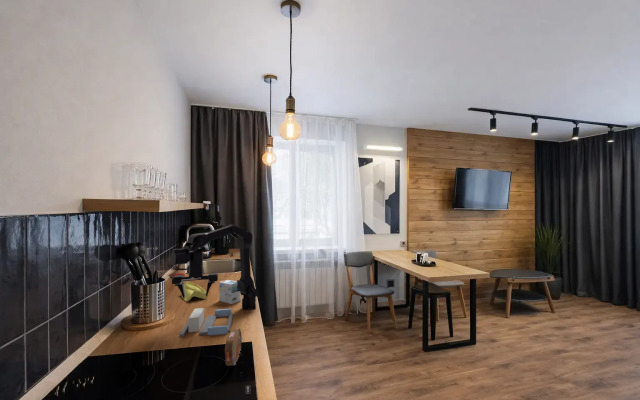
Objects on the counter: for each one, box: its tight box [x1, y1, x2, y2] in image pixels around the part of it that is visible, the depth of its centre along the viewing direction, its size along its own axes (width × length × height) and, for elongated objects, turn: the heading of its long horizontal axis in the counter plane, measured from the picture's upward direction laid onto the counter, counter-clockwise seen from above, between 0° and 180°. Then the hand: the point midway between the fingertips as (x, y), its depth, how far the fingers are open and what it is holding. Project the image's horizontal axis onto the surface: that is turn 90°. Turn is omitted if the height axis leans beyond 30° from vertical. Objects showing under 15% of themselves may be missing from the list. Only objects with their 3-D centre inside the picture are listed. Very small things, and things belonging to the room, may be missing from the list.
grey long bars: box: [179, 313, 234, 338], centre depth 129 cm, size 19×20×1 cm
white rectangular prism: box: [188, 307, 205, 333], centre depth 128 cm, size 4×12×6 cm, turn 12°
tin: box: [224, 328, 242, 367], centre depth 100 cm, size 15×3×8 cm, turn 4°
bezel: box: [207, 308, 233, 336], centre depth 130 cm, size 8×22×3 cm, turn 12°
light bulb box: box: [218, 279, 242, 305], centre depth 163 cm, size 11×7×11 cm, turn 58°
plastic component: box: [181, 281, 207, 303], centre depth 172 cm, size 20×7×10 cm
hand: (195, 297), depth 130 cm, fingers open, 9 cm apart
